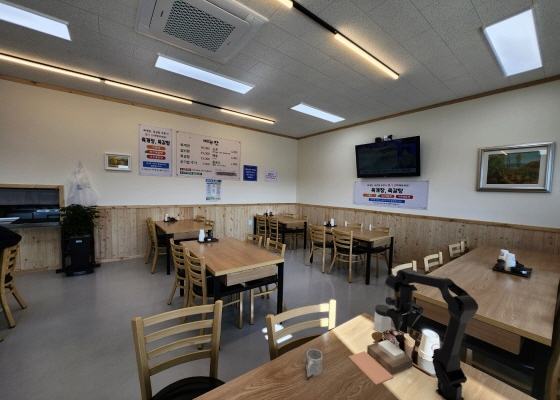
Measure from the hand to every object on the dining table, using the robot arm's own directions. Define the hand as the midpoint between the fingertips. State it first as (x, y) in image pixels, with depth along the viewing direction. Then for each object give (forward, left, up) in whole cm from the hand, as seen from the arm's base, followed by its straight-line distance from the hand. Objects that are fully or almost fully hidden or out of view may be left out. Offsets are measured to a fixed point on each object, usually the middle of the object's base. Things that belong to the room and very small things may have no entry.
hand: (403, 329), depth 106 cm
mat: (0, +21, -12) cm, 24 cm away
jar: (+18, -7, -12) cm, 22 cm away
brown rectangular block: (0, +9, -12) cm, 15 cm away
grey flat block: (0, +8, -8) cm, 12 cm away
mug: (+7, +45, -12) cm, 47 cm away
